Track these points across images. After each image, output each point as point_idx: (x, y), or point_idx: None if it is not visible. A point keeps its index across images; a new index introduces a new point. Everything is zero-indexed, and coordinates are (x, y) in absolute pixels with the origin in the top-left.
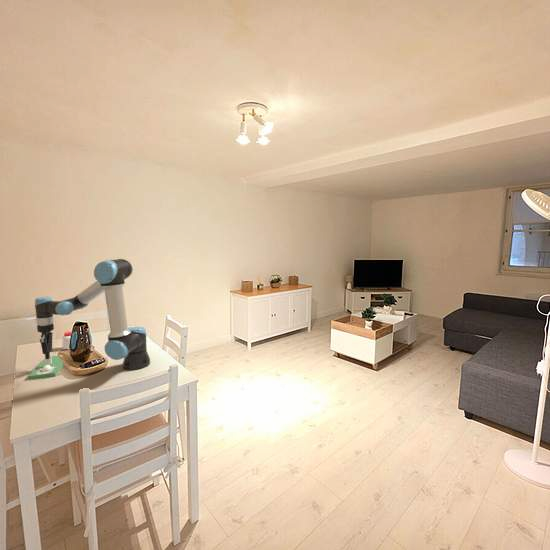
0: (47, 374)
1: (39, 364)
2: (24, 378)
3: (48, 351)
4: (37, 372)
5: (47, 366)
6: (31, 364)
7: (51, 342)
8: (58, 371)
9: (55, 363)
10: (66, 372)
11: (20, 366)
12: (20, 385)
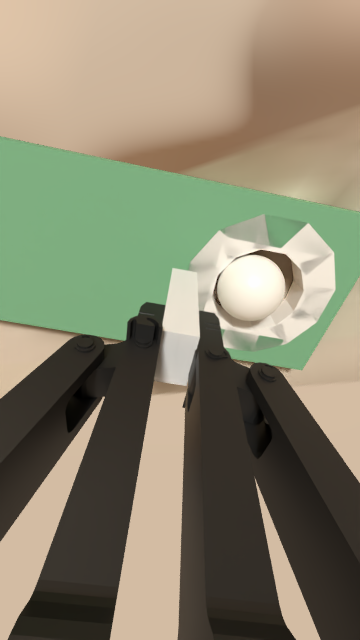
0: (356, 273)
1: (113, 338)
2: None
3: (259, 379)
4: (272, 335)
5: (274, 294)
6: None
7: (12, 450)
8: (288, 197)
9: (140, 237)
10: (356, 116)
11: None
12: (347, 376)
